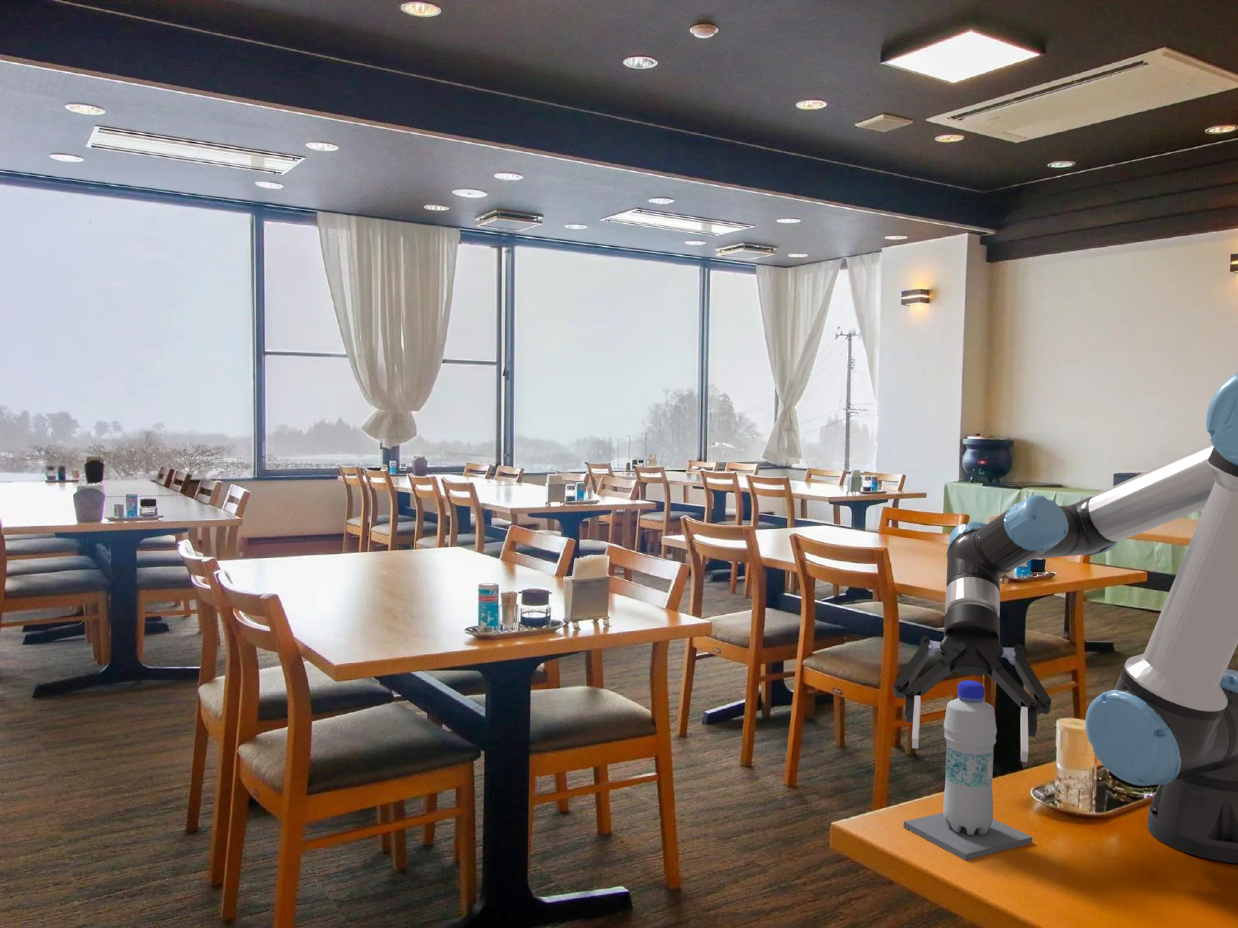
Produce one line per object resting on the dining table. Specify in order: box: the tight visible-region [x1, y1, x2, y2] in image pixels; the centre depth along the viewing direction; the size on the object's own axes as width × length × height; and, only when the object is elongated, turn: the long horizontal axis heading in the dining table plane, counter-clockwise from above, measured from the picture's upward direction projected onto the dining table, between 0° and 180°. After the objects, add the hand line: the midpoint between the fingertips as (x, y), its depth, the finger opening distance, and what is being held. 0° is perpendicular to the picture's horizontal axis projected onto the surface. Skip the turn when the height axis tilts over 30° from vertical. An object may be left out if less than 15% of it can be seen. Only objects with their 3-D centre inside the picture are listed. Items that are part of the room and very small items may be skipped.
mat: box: [903, 812, 1033, 861], centre depth 130 cm, size 11×12×1 cm
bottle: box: [942, 679, 998, 835], centre depth 129 cm, size 7×7×20 cm
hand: (968, 750), depth 128 cm, fingers open, 13 cm apart
